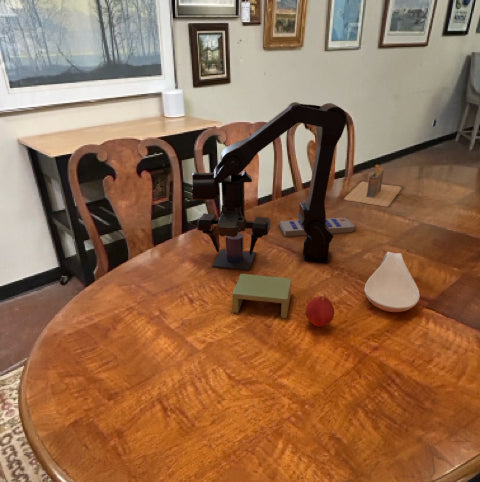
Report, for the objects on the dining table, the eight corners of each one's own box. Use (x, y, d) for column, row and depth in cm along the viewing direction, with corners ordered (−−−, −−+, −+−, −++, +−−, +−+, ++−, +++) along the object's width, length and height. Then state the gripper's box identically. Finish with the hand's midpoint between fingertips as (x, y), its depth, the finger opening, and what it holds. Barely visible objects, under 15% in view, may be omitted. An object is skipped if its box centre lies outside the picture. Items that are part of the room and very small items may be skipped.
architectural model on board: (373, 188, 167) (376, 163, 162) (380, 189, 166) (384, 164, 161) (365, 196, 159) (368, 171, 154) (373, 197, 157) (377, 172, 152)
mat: (255, 253, 119) (255, 252, 119) (249, 270, 110) (249, 269, 110) (221, 250, 121) (221, 249, 120) (212, 267, 112) (212, 265, 112)
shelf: (290, 296, 99) (291, 278, 97) (286, 318, 91) (287, 299, 89) (241, 291, 101) (240, 273, 99) (232, 312, 94) (232, 293, 91)
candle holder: (245, 255, 117) (245, 232, 113) (241, 263, 113) (241, 240, 109) (228, 254, 118) (227, 231, 114) (224, 262, 114) (223, 238, 110)
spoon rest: (417, 324, 89) (424, 295, 85) (361, 315, 92) (365, 287, 89) (412, 271, 109) (418, 246, 105) (365, 265, 112) (369, 241, 108)
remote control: (280, 226, 135) (280, 220, 134) (347, 222, 137) (348, 216, 136) (285, 236, 129) (285, 230, 127) (356, 232, 131) (356, 225, 129)
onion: (302, 318, 91) (304, 287, 87) (328, 317, 92) (331, 286, 88) (308, 335, 86) (310, 303, 82) (335, 333, 87) (339, 301, 83)
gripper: (188, 207, 101) (192, 263, 109) (264, 212, 98) (263, 270, 106) (201, 192, 111) (204, 245, 119) (271, 196, 107) (270, 250, 115)
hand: (234, 253), depth 114 cm, fingers open, 9 cm apart
